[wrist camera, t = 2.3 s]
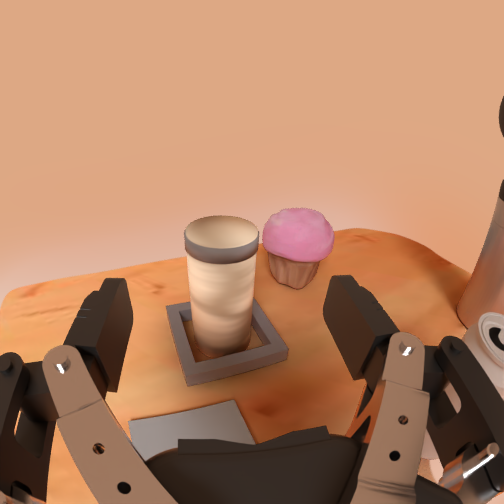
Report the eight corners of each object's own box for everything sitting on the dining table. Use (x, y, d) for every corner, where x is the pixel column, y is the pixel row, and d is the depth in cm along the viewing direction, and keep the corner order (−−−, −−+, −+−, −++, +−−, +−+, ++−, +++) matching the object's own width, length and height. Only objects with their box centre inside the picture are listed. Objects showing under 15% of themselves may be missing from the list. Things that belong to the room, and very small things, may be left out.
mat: (234, 401, 21) (234, 399, 21) (280, 492, 14) (281, 491, 13) (129, 423, 17) (128, 421, 17) (156, 523, 10) (154, 522, 10)
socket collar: (248, 301, 33) (248, 290, 32) (286, 359, 25) (288, 348, 24) (167, 316, 29) (165, 305, 29) (187, 386, 22) (185, 376, 21)
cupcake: (331, 275, 39) (345, 209, 34) (312, 309, 32) (329, 232, 27) (275, 257, 42) (281, 194, 38) (246, 285, 36) (251, 211, 31)
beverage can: (400, 401, 20) (464, 300, 14) (453, 408, 18) (523, 315, 12) (394, 460, 15) (487, 370, 9) (454, 463, 13) (549, 376, 7)
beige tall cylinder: (238, 314, 31) (243, 212, 25) (260, 351, 26) (272, 240, 20) (187, 325, 29) (178, 219, 23) (202, 366, 24) (192, 251, 18)
